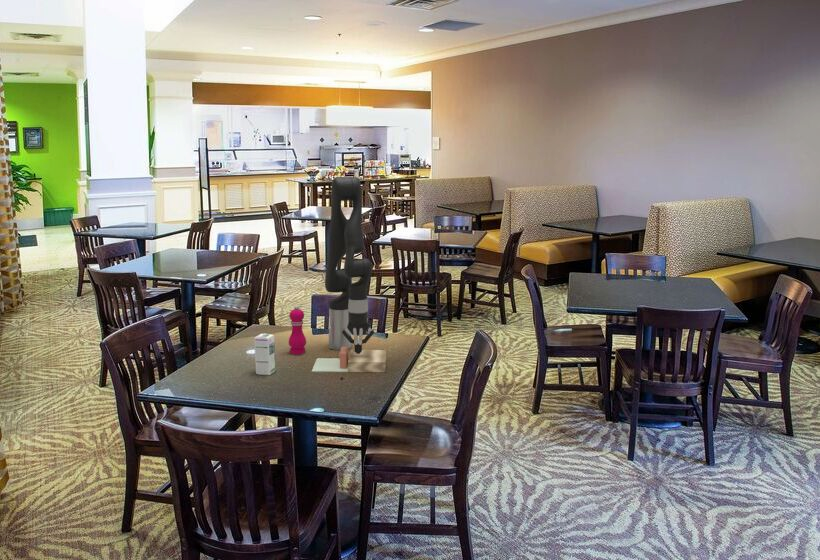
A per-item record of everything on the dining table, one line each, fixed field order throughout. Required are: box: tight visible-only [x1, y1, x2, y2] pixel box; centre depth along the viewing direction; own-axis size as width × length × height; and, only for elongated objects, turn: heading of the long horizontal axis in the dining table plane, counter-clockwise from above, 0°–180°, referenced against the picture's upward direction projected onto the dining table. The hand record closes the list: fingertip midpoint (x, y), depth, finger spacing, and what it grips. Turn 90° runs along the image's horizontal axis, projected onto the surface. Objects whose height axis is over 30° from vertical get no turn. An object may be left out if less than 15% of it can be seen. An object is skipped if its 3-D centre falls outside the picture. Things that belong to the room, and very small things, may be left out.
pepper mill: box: [288, 305, 307, 355], centre depth 284 cm, size 7×7×20 cm
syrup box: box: [253, 333, 277, 376], centre depth 259 cm, size 6×6×14 cm
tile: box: [338, 347, 349, 368], centre depth 268 cm, size 6×9×2 cm
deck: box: [347, 349, 387, 373], centre depth 269 cm, size 14×16×4 cm
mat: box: [311, 357, 349, 373], centre depth 269 cm, size 14×16×1 cm
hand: (358, 353), depth 268 cm, fingers closed
